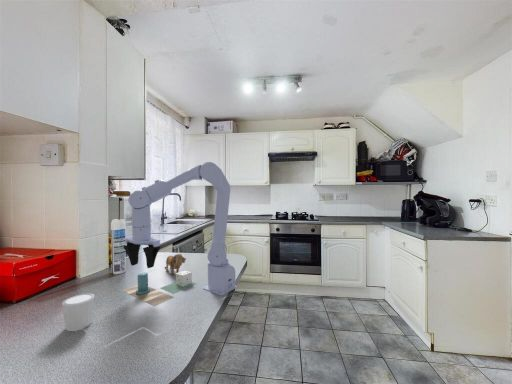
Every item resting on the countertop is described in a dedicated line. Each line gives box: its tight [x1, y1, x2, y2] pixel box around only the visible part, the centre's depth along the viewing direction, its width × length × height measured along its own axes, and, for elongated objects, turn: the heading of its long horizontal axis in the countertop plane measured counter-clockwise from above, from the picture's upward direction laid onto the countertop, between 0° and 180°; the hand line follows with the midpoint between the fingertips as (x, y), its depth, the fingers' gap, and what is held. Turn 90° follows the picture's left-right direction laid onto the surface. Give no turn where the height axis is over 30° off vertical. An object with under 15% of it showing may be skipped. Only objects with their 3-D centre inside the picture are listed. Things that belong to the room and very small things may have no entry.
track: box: [121, 284, 175, 307], centre depth 80 cm, size 20×7×1 cm, turn 54°
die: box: [175, 270, 193, 287], centre depth 88 cm, size 4×4×4 cm
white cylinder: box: [61, 293, 96, 332], centre depth 62 cm, size 7×7×7 cm
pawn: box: [136, 272, 150, 295], centre depth 81 cm, size 4×4×6 cm
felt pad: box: [160, 281, 197, 295], centre depth 86 cm, size 8×10×1 cm
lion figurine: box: [164, 253, 187, 277], centre depth 101 cm, size 15×5×9 cm, turn 48°
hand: (142, 265), depth 81 cm, fingers open, 7 cm apart
